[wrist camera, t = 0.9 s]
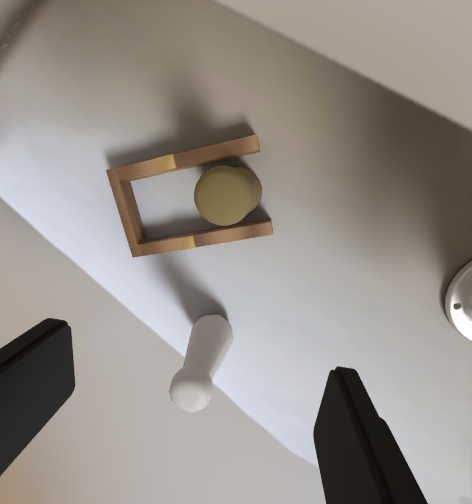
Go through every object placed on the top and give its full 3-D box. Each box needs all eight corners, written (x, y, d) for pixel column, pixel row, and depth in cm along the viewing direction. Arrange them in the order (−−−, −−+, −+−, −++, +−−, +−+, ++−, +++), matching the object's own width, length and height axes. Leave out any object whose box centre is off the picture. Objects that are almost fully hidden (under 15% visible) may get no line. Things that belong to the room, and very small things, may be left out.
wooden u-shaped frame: (257, 138, 30) (256, 133, 27) (272, 230, 32) (272, 235, 29) (118, 171, 33) (104, 170, 30) (142, 252, 35) (131, 258, 33)
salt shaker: (192, 309, 37) (152, 374, 24) (231, 305, 36) (209, 372, 23) (200, 344, 38) (166, 423, 26) (238, 342, 37) (221, 422, 25)
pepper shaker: (270, 203, 31) (268, 215, 21) (226, 224, 33) (204, 244, 22) (248, 156, 30) (236, 144, 20) (205, 180, 32) (171, 180, 21)
